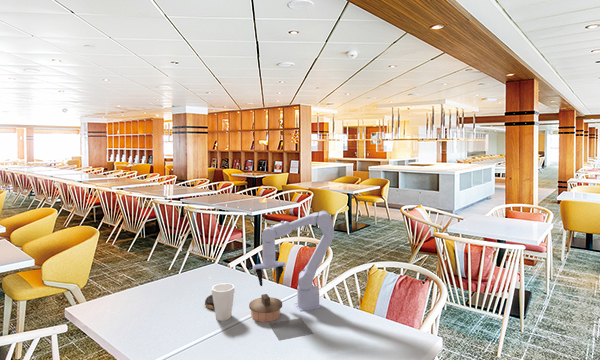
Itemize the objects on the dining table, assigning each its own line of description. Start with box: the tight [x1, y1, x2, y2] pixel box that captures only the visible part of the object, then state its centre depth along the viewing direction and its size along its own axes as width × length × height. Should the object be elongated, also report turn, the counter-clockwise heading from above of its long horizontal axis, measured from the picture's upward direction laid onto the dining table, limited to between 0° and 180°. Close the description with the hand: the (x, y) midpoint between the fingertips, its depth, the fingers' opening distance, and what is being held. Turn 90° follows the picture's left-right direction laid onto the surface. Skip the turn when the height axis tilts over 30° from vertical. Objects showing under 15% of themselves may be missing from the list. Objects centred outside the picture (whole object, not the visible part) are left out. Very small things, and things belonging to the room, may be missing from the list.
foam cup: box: [211, 282, 235, 322], centre depth 157 cm, size 10×9×13 cm
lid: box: [248, 293, 283, 313], centre depth 158 cm, size 14×14×4 cm
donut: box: [204, 294, 215, 310], centre depth 170 cm, size 11×12×4 cm
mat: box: [268, 317, 315, 341], centre depth 147 cm, size 14×14×1 cm
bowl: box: [250, 309, 281, 323], centre depth 159 cm, size 12×12×4 cm
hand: (269, 284), depth 167 cm, fingers open, 7 cm apart
